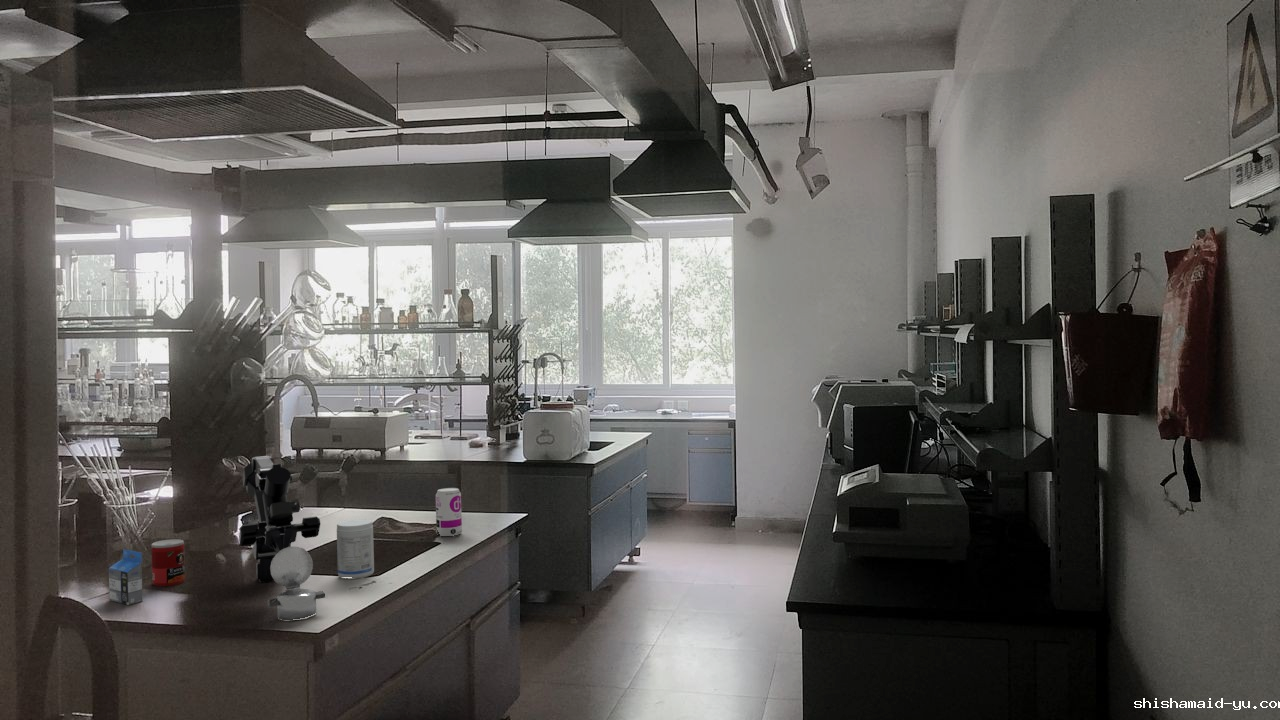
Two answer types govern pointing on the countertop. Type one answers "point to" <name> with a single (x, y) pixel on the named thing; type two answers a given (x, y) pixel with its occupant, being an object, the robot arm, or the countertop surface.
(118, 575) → the blue and grey carton
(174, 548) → the canned food
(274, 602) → the pot
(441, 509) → the supplement can
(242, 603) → the countertop surface
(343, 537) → the supplement tub
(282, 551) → the lid
